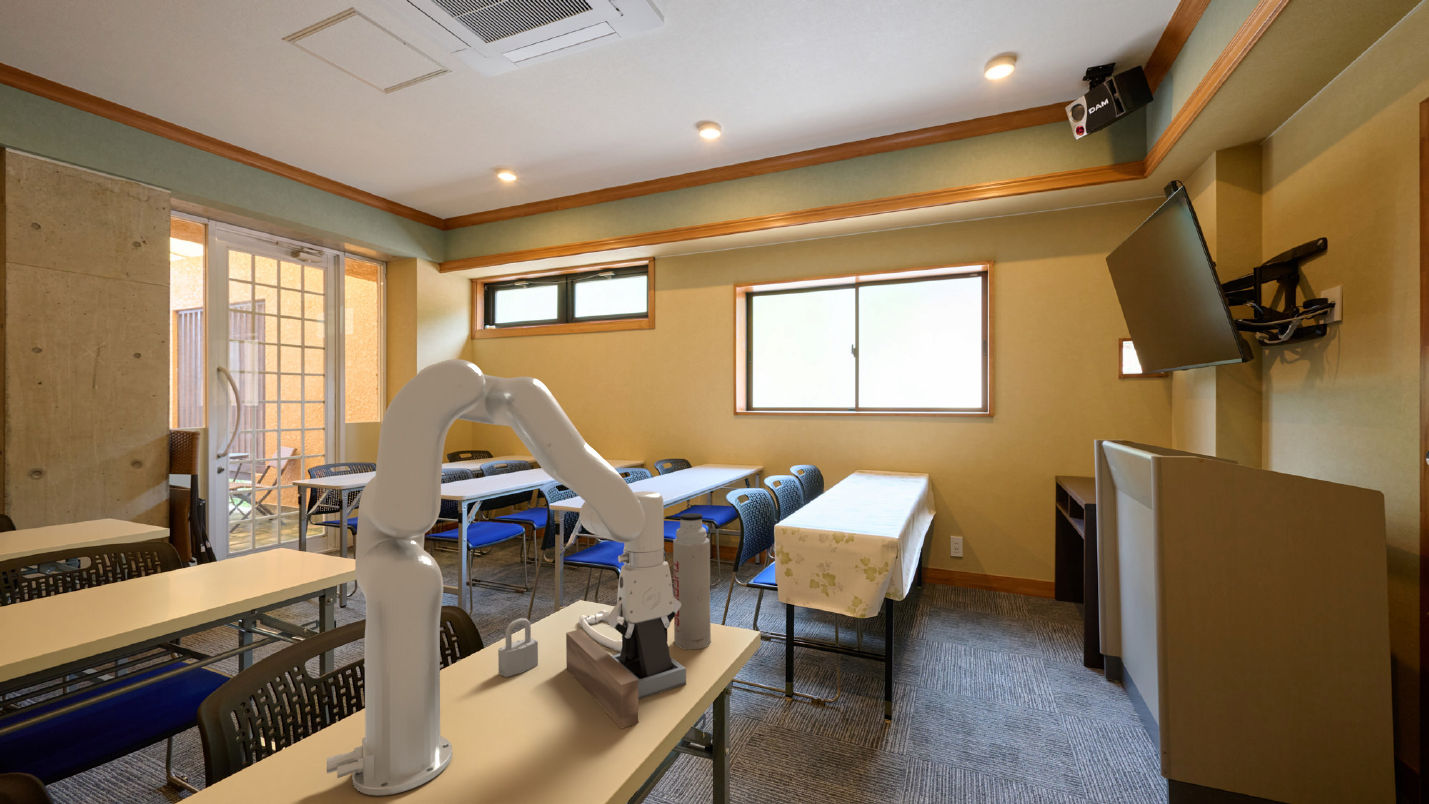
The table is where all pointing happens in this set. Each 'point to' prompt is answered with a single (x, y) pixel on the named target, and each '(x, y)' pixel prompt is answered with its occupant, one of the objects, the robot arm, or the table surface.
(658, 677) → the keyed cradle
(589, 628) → the door handle
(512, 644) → the padlock
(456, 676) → the table surface
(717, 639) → the table surface
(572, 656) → the board
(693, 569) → the thermos bottle
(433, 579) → the robot arm
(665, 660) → the door stopper
